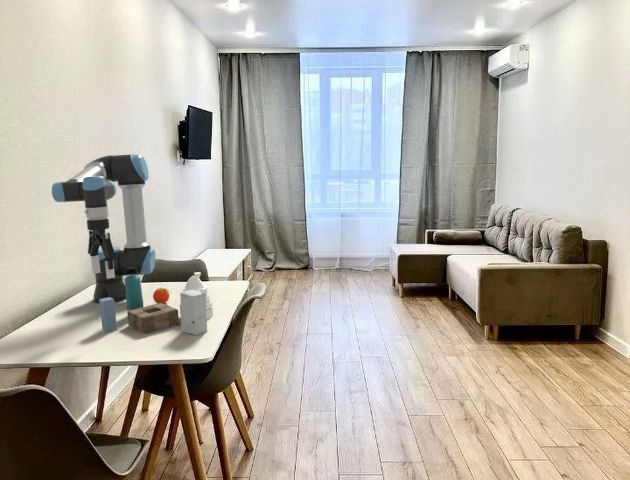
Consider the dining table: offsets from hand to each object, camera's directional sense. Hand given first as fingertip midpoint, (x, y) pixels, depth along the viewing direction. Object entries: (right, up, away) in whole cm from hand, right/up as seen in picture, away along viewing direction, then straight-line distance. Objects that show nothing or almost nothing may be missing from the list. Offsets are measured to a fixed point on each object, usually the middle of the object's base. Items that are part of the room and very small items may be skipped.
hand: (103, 275), depth 209 cm
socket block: (+17, -20, +7) cm, 27 cm away
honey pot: (+31, -18, +16) cm, 39 cm away
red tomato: (+12, -15, +37) cm, 42 cm away
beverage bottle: (+5, -18, +21) cm, 28 cm away
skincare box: (+35, -21, -3) cm, 40 cm away
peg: (+1, -21, +4) cm, 21 cm away
